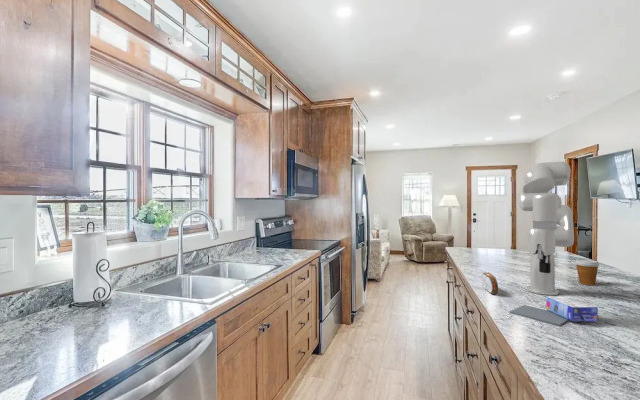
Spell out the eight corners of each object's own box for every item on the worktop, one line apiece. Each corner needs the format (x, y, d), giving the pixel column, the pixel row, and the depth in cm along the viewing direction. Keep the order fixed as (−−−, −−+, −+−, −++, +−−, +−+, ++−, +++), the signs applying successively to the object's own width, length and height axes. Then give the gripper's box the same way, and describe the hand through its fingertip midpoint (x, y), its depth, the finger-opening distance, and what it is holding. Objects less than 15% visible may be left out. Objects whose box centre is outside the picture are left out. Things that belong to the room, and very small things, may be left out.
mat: (525, 305, 128) (525, 304, 128) (573, 317, 115) (573, 315, 115) (509, 312, 120) (509, 311, 120) (559, 326, 107) (559, 324, 107)
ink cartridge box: (545, 310, 121) (577, 324, 106) (545, 296, 121) (577, 308, 106) (569, 310, 121) (605, 324, 107) (569, 296, 121) (604, 308, 107)
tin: (498, 296, 141) (498, 278, 141) (491, 296, 142) (491, 277, 142) (487, 287, 156) (487, 270, 156) (481, 287, 156) (481, 270, 156)
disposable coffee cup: (571, 281, 167) (570, 259, 167) (590, 281, 165) (590, 259, 165) (583, 286, 157) (583, 262, 157) (604, 286, 156) (604, 262, 156)
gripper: (541, 223, 127) (541, 267, 128) (525, 226, 119) (525, 273, 119) (563, 224, 121) (563, 271, 122) (548, 228, 113) (548, 277, 113)
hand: (544, 272), depth 120 cm, fingers closed
